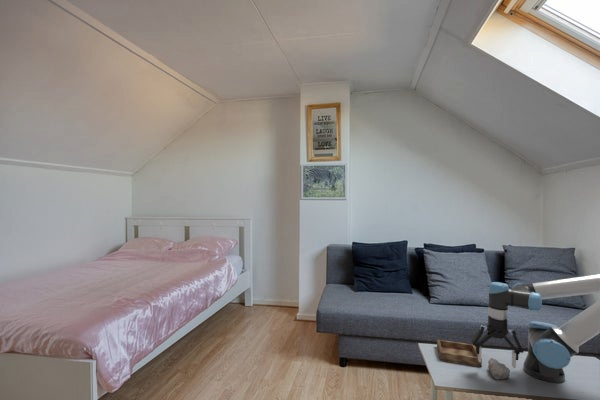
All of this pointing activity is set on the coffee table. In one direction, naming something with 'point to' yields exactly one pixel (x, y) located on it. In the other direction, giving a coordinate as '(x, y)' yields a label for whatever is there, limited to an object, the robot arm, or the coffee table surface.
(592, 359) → the coffee table surface
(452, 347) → the tray
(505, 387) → the coffee table surface
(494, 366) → the stone
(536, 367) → the robot arm
